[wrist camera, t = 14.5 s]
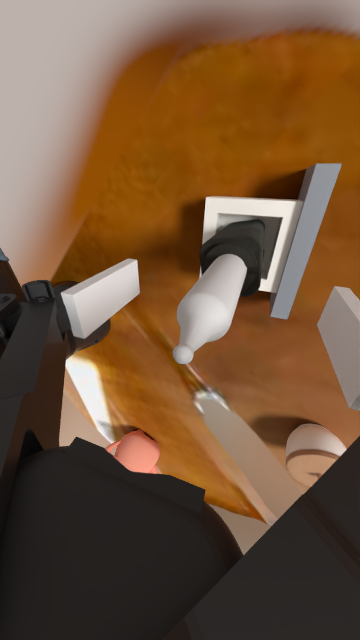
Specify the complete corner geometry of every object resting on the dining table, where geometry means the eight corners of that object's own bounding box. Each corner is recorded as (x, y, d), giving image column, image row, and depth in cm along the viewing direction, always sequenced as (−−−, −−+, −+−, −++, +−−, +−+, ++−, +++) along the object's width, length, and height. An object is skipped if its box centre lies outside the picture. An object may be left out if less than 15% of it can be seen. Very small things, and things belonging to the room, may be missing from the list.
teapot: (159, 462, 74) (142, 503, 64) (114, 428, 73) (90, 465, 63) (180, 454, 66) (164, 499, 57) (130, 415, 65) (105, 455, 55)
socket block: (207, 269, 33) (199, 281, 29) (214, 196, 28) (205, 197, 24) (275, 279, 30) (276, 293, 26) (297, 199, 25) (303, 201, 21)
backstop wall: (270, 297, 32) (270, 316, 27) (306, 168, 24) (316, 163, 19) (284, 299, 32) (287, 319, 27) (326, 169, 23) (341, 163, 18)
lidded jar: (282, 442, 48) (285, 490, 40) (284, 411, 43) (288, 458, 35) (340, 454, 44) (355, 510, 36) (349, 421, 39) (369, 477, 31)
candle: (224, 223, 28) (108, 300, 8) (265, 218, 26) (247, 302, 6) (226, 261, 31) (139, 394, 10) (264, 259, 29) (246, 417, 9)
